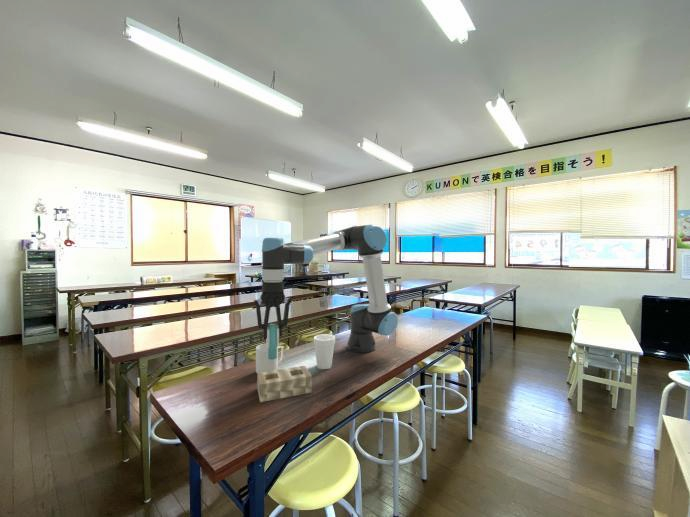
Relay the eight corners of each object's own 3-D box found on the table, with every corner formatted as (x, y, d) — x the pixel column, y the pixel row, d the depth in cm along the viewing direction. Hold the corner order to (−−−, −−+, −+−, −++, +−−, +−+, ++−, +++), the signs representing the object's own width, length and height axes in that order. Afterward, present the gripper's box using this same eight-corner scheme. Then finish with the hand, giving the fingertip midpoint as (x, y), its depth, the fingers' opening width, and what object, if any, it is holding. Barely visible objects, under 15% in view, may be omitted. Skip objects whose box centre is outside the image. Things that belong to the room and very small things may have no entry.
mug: (261, 379, 112) (261, 351, 112) (252, 372, 119) (252, 346, 118) (288, 371, 120) (288, 345, 120) (278, 364, 127) (278, 340, 126)
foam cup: (309, 366, 125) (309, 337, 125) (324, 360, 132) (324, 333, 132) (323, 372, 119) (324, 342, 118) (339, 366, 125) (339, 337, 125)
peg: (276, 355, 103) (276, 323, 103) (277, 358, 100) (277, 325, 100) (267, 357, 102) (267, 324, 102) (268, 359, 99) (269, 326, 99)
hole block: (304, 380, 111) (304, 365, 111) (311, 392, 102) (311, 376, 102) (257, 388, 104) (257, 372, 104) (260, 402, 95) (260, 384, 95)
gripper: (292, 279, 107) (292, 340, 108) (249, 280, 101) (248, 345, 102) (297, 281, 100) (296, 347, 101) (250, 282, 94) (250, 352, 95)
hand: (272, 346), depth 101 cm, fingers closed on peg, 3 cm apart
